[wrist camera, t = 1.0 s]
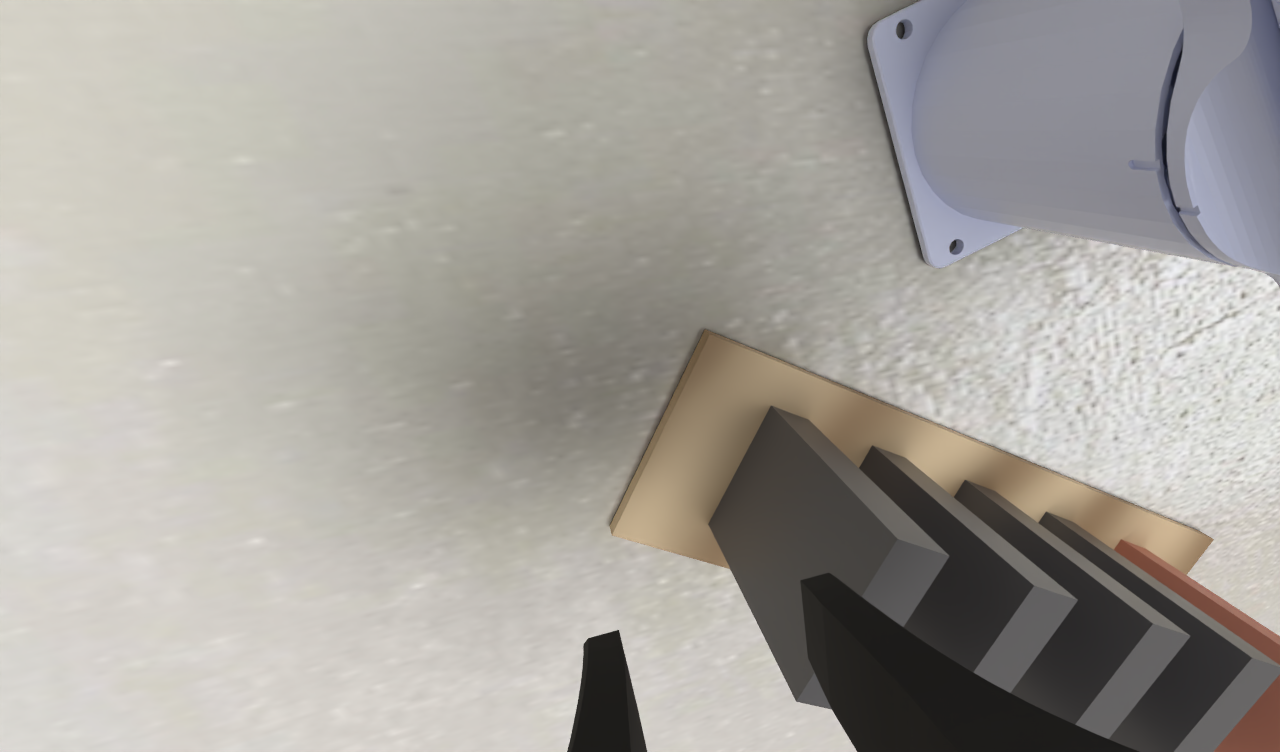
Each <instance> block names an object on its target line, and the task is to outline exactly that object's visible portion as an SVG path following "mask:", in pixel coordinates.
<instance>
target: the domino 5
mask: <svg viewBox="0 0 1280 752" xmlns="http://www.w3.org/2000/svg"><path fill="white" fill-rule="evenodd" d="M1114 550H1115V551H1116V552H1117V553H1119V554H1120V555H1122V556H1123V557H1125V558H1126V559H1128V560H1129V561H1130V562H1132V563H1133V564H1135V565H1136V566H1138V567H1139V568H1141V569H1142V570H1143V571H1145V572H1146V573H1148V574H1149V575H1151V576H1152V577H1153V578H1155V579H1156V580H1158V581H1159V582H1161V583H1162V584H1164V585H1165V586H1166V587H1168V588H1169V589H1171V590H1172V591H1174V592H1175V593H1177V594H1178V595H1179V596H1181V597H1182V598H1184V599H1185V600H1187V601H1188V602H1190V603H1191V604H1192V605H1194V606H1195V607H1197V608H1198V609H1200V610H1201V611H1202V612H1204V613H1205V614H1207V615H1208V616H1210V617H1211V618H1213V619H1214V620H1215V621H1217V622H1218V623H1220V624H1221V625H1223V626H1224V627H1226V628H1227V629H1228V630H1230V631H1231V632H1233V633H1234V634H1236V635H1237V636H1239V637H1240V638H1241V639H1243V640H1244V641H1246V642H1247V643H1249V644H1250V645H1252V646H1253V647H1254V648H1256V649H1257V650H1259V651H1260V652H1262V653H1263V654H1264V655H1266V656H1267V657H1269V658H1270V659H1272V660H1273V661H1275V662H1276V663H1277V664H1279V665H1280V636H1278V635H1277V634H1275V633H1274V632H1272V631H1271V630H1269V629H1267V628H1266V627H1264V626H1263V625H1261V624H1260V623H1258V622H1257V621H1255V620H1254V619H1252V618H1251V617H1249V616H1248V615H1246V614H1245V613H1243V612H1242V611H1240V610H1239V609H1237V608H1235V607H1234V606H1232V605H1231V604H1229V603H1228V602H1226V601H1225V600H1223V599H1222V598H1220V597H1219V596H1217V595H1216V594H1214V593H1213V592H1211V591H1210V590H1208V589H1207V588H1205V587H1203V586H1202V585H1200V584H1199V583H1197V582H1196V581H1194V580H1193V579H1191V578H1190V577H1188V576H1187V575H1185V574H1184V573H1182V572H1181V571H1179V570H1178V569H1176V568H1175V567H1173V566H1171V565H1170V564H1168V563H1167V562H1165V561H1164V560H1162V559H1161V558H1159V557H1158V556H1156V555H1155V554H1153V553H1152V552H1150V551H1149V550H1147V549H1145V548H1143V547H1140V546H1137V545H1135V544H1132V543H1130V542H1127V541H1124V540H1122V539H1121V540H1120V542H1119V543H1118V544H1117V546H1116V547H1115V549H1114ZM1214 752H1280V675H1279V676H1278V677H1277V678H1276V679H1275V681H1274V682H1273V683H1272V684H1271V685H1270V686H1269V687H1268V689H1267V690H1266V691H1265V692H1264V693H1263V694H1262V696H1261V697H1260V698H1259V699H1258V700H1257V701H1256V703H1255V704H1254V705H1253V706H1252V707H1251V708H1250V710H1249V711H1248V712H1247V713H1246V714H1245V715H1244V717H1243V718H1242V719H1241V720H1240V721H1239V722H1238V724H1237V725H1236V726H1235V727H1234V728H1233V729H1232V731H1231V732H1230V733H1229V734H1228V735H1227V736H1226V738H1225V739H1224V740H1223V741H1222V742H1221V743H1220V745H1219V746H1218V747H1217V748H1216V749H1215V750H1214Z"/></svg>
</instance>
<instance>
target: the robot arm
mask: <svg viewBox="0 0 1280 752" xmlns="http://www.w3.org/2000/svg"><path fill="white" fill-rule="evenodd" d="M899 22H902V23H903V25H904V26H905V34H904V36H903V38H902V39H900V38H898V36H897V34H896V27H897V25H898V23H899ZM867 45H868V49H869V53H870V57H871V61H872V65H873V68H874V72H875V76H876V80H877V83H878V87H879V91H880V95H881V99H882V102H883V106H884V110H885V114H886V118H887V121H888V125H889V129H890V133H891V137H892V140H893V144H894V148H895V152H896V156H897V159H898V163H899V167H900V171H901V174H902V178H903V182H904V186H905V190H906V193H907V197H908V201H909V205H910V209H911V212H912V216H913V220H914V224H915V228H916V231H917V235H918V239H919V243H920V246H921V250H922V254H923V258H924V260H925V262H926V263H927V264H928V265H929V266H932V267H935V268H943V267H946V266H948V265H950V264H952V263H954V262H956V261H958V260H960V259H962V258H964V257H966V256H968V255H970V254H972V253H974V252H976V251H978V250H980V249H982V248H984V247H986V246H988V245H990V244H992V243H994V242H996V241H998V240H1000V239H1002V238H1004V237H1006V236H1008V235H1010V234H1012V233H1014V232H1016V231H1018V230H1020V229H1022V228H1028V229H1034V230H1039V231H1045V232H1050V233H1055V234H1061V235H1066V236H1072V237H1077V238H1083V239H1088V240H1093V241H1099V242H1104V243H1110V244H1115V245H1121V246H1126V247H1131V248H1137V249H1142V250H1148V251H1153V252H1159V253H1164V254H1169V255H1175V256H1180V257H1186V258H1191V259H1197V260H1202V261H1207V262H1213V263H1218V264H1224V265H1229V266H1236V267H1243V268H1247V269H1252V270H1256V271H1260V272H1263V273H1266V274H1267V275H1269V276H1270V277H1272V278H1273V279H1274V280H1275V281H1276V282H1277V284H1278V285H1279V287H1280V0H920V1H918V2H916V3H914V4H912V5H910V6H908V7H906V8H904V9H901V10H899V11H897V12H895V13H893V14H891V15H889V16H887V17H885V18H883V19H881V20H879V21H878V22H876V23H875V24H874V25H873V26H872V27H871V29H870V30H869V33H868V37H867ZM954 240H956V247H955V249H954V250H953V251H952V252H950V251H949V246H950V244H951V242H953V241H954ZM800 583H801V593H802V603H803V613H804V624H805V634H806V644H807V654H808V659H809V661H810V663H811V666H812V668H813V670H814V672H815V675H816V677H817V679H818V681H819V683H820V686H821V688H822V690H823V692H824V694H825V696H826V698H827V700H828V702H829V704H830V707H831V708H832V710H833V712H834V713H835V715H836V717H837V719H838V720H839V722H840V724H841V725H842V727H843V729H844V730H845V732H846V734H847V735H848V737H849V739H850V740H851V742H852V744H853V745H854V747H855V749H856V750H857V752H1139V751H1137V750H1134V749H1132V748H1129V747H1126V746H1124V745H1121V744H1119V743H1117V742H1114V741H1112V740H1109V739H1107V738H1105V737H1102V736H1100V735H1097V734H1095V733H1093V732H1091V731H1088V730H1086V729H1084V728H1082V727H1080V726H1077V725H1075V724H1073V723H1071V722H1068V721H1066V720H1064V719H1062V718H1060V717H1057V716H1055V715H1053V714H1051V713H1049V712H1047V711H1045V710H1043V709H1040V708H1038V707H1036V706H1034V705H1032V704H1030V703H1028V702H1026V701H1024V700H1023V699H1021V698H1019V697H1017V696H1015V695H1013V694H1011V693H1009V692H1007V691H1006V690H1004V689H1002V688H1000V687H998V686H996V685H994V684H993V683H991V682H989V681H987V680H985V679H984V678H982V677H980V676H979V675H977V674H975V673H974V672H972V671H970V670H968V669H967V668H965V667H964V666H962V665H960V664H959V663H957V662H956V661H954V660H952V659H951V658H949V657H947V656H946V655H944V654H943V653H941V652H940V651H938V650H937V649H935V648H934V647H932V646H930V645H929V644H927V643H926V642H924V641H923V640H922V639H920V638H919V637H917V636H916V635H914V634H913V633H911V632H910V631H908V630H907V629H906V628H904V627H903V626H901V625H900V624H898V623H897V622H895V621H894V620H893V619H891V618H890V617H888V616H887V615H886V614H884V613H883V612H882V611H880V610H879V609H878V608H876V607H875V606H874V605H872V604H871V603H869V602H868V601H867V600H865V599H864V598H863V597H861V596H860V595H859V594H858V593H856V592H855V591H854V590H852V589H851V588H850V587H848V586H847V585H846V584H844V583H843V582H842V581H841V580H839V579H838V578H837V577H835V576H834V575H832V574H831V573H825V574H822V575H818V576H814V577H811V578H807V579H803V580H800ZM567 752H647V749H646V744H645V740H644V735H643V731H642V726H641V722H640V717H639V712H638V708H637V704H636V700H635V695H634V691H633V687H632V683H631V679H630V675H629V670H628V666H627V662H626V658H625V654H624V650H623V645H622V641H621V637H620V633H619V630H617V631H613V632H610V633H606V634H602V635H599V636H595V637H592V638H588V639H587V641H586V642H585V643H584V656H583V670H582V679H581V686H580V692H579V699H578V705H577V709H576V714H575V719H574V724H573V729H572V734H571V739H570V743H569V747H568V751H567Z"/></svg>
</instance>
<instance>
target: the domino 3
mask: <svg viewBox="0 0 1280 752" xmlns="http://www.w3.org/2000/svg"><path fill="white" fill-rule="evenodd" d="M954 498H955V499H956V500H957V501H959V502H960V503H961V504H962V505H964V506H965V507H966V508H967V509H968V510H970V511H971V512H972V513H973V514H974V515H976V516H977V517H978V518H979V519H980V520H982V521H983V522H984V523H985V524H987V525H988V526H989V527H990V528H991V529H993V530H994V531H995V532H996V533H997V534H999V535H1000V536H1001V537H1002V538H1003V539H1005V540H1006V541H1007V542H1008V543H1010V544H1011V545H1012V546H1013V547H1014V548H1016V549H1017V550H1018V551H1019V552H1020V553H1022V554H1023V555H1024V556H1025V557H1026V558H1028V559H1029V560H1030V561H1031V562H1032V563H1034V564H1035V565H1036V566H1037V567H1039V568H1040V569H1041V570H1042V571H1043V572H1045V573H1046V574H1047V575H1048V576H1049V577H1051V578H1052V579H1053V580H1054V581H1055V582H1057V583H1058V584H1059V585H1060V586H1062V587H1063V588H1064V589H1065V590H1066V591H1068V592H1069V593H1070V594H1071V595H1072V596H1074V597H1075V598H1076V599H1077V600H1078V601H1077V602H1076V604H1075V605H1074V606H1073V608H1072V609H1071V611H1070V612H1069V613H1068V615H1067V616H1066V617H1065V619H1064V620H1063V622H1062V623H1061V624H1060V626H1059V627H1058V628H1057V630H1056V631H1055V633H1054V634H1053V635H1052V637H1051V638H1050V639H1049V641H1048V642H1047V644H1046V645H1045V646H1044V648H1043V649H1042V650H1041V652H1040V653H1039V654H1038V656H1037V657H1036V659H1035V660H1034V661H1033V663H1032V664H1031V665H1030V667H1029V668H1028V670H1027V671H1026V672H1025V674H1024V675H1023V676H1022V678H1021V679H1020V681H1019V682H1018V683H1017V685H1016V686H1015V687H1014V689H1013V690H1012V692H1011V694H1013V695H1015V696H1017V697H1019V698H1021V699H1023V700H1024V701H1026V702H1028V703H1030V704H1032V705H1034V706H1036V707H1038V708H1040V709H1043V710H1045V711H1047V712H1049V713H1051V714H1053V715H1055V716H1057V717H1060V718H1062V719H1064V720H1066V721H1068V722H1071V723H1073V724H1075V725H1077V726H1080V727H1082V728H1084V729H1086V730H1088V731H1091V732H1093V733H1095V734H1097V735H1100V736H1102V737H1105V738H1107V739H1109V738H1110V737H1111V735H1112V734H1113V733H1114V732H1115V730H1116V729H1117V728H1118V727H1119V725H1120V724H1121V723H1122V722H1123V720H1124V719H1125V718H1126V717H1127V715H1128V714H1129V713H1130V712H1131V710H1132V709H1133V708H1134V707H1135V705H1136V704H1137V703H1138V702H1139V700H1140V699H1141V698H1142V696H1143V695H1144V694H1145V693H1146V691H1147V690H1148V689H1149V688H1150V686H1151V685H1152V684H1153V683H1154V681H1155V680H1156V679H1157V678H1158V676H1159V675H1160V674H1161V673H1162V671H1163V670H1164V669H1165V668H1166V666H1167V665H1168V664H1169V663H1170V661H1171V660H1172V659H1173V658H1174V656H1175V655H1176V654H1177V653H1178V651H1179V650H1180V649H1181V648H1182V646H1183V645H1184V644H1185V643H1186V641H1187V640H1188V639H1189V638H1190V635H1189V634H1187V633H1186V632H1184V631H1183V630H1182V629H1180V628H1179V627H1178V626H1176V625H1175V624H1174V623H1172V622H1171V621H1170V620H1168V619H1167V618H1166V617H1164V616H1163V615H1162V614H1160V613H1159V612H1158V611H1156V610H1155V609H1153V608H1152V607H1151V606H1149V605H1148V604H1147V603H1145V602H1144V601H1143V600H1141V599H1140V598H1139V597H1137V596H1136V595H1135V594H1133V593H1132V592H1131V591H1129V590H1128V589H1127V588H1125V587H1124V586H1122V585H1121V584H1120V583H1118V582H1117V581H1116V580H1114V579H1113V578H1112V577H1110V576H1109V575H1108V574H1106V573H1105V572H1104V571H1102V570H1101V569H1100V568H1098V567H1097V566H1096V565H1094V564H1093V563H1091V562H1090V561H1089V560H1087V559H1086V558H1085V557H1083V556H1082V555H1081V554H1079V553H1078V552H1077V551H1075V550H1074V549H1073V548H1071V547H1070V546H1069V545H1067V544H1066V543H1065V542H1063V541H1062V540H1060V539H1059V538H1058V537H1056V536H1055V535H1054V534H1052V533H1051V532H1050V531H1048V530H1047V529H1046V528H1044V527H1043V526H1042V525H1040V524H1039V523H1038V522H1036V521H1035V520H1034V519H1032V518H1031V517H1029V516H1028V515H1027V514H1025V513H1024V512H1023V511H1021V510H1020V509H1019V508H1017V507H1016V506H1015V505H1013V504H1012V503H1011V502H1009V501H1008V500H1007V499H1005V498H1004V497H1003V496H1001V495H1000V494H998V493H997V492H996V491H994V490H991V489H988V488H986V487H983V486H981V485H978V484H975V483H973V482H970V481H968V480H964V482H963V483H962V485H961V487H960V488H959V490H958V491H957V493H956V494H955V496H954Z"/></svg>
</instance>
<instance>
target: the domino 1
mask: <svg viewBox="0 0 1280 752" xmlns="http://www.w3.org/2000/svg"><path fill="white" fill-rule="evenodd" d="M708 525H709V527H710V529H711V531H712V533H713V535H714V537H715V539H716V541H717V543H718V545H719V547H720V549H721V551H722V553H723V555H724V557H725V559H726V561H727V563H728V565H729V567H730V569H731V571H732V573H733V575H734V577H735V579H736V581H737V583H738V585H739V587H740V589H741V591H742V593H743V595H744V597H745V599H746V601H747V603H748V605H749V607H750V609H751V611H752V613H753V615H754V617H755V619H756V621H757V623H758V625H759V627H760V629H761V631H762V633H763V635H764V637H765V639H766V641H767V643H768V645H769V647H770V649H771V651H772V653H773V655H774V658H775V660H776V662H777V664H778V666H779V668H780V670H781V672H782V674H783V676H784V678H785V680H786V682H787V684H788V686H789V688H790V690H791V692H792V694H793V696H794V698H795V700H796V702H801V703H805V704H810V705H814V706H819V707H824V708H828V709H832V708H831V707H830V704H829V702H828V700H827V698H826V696H825V694H824V692H823V690H822V688H821V686H820V683H819V681H818V679H817V677H816V675H815V672H814V670H813V668H812V666H811V663H810V661H809V659H808V654H807V644H806V634H805V624H804V613H803V603H802V593H801V583H800V580H803V579H807V578H811V577H814V576H818V575H822V574H825V573H831V574H832V575H834V576H835V577H837V578H838V579H839V580H841V581H842V582H843V583H844V584H846V585H847V586H848V587H850V588H851V589H852V590H854V591H855V592H856V593H858V594H859V595H860V596H861V597H863V598H864V599H865V600H867V601H868V602H869V603H871V604H872V605H874V606H875V607H876V608H878V609H879V610H880V611H882V612H883V613H884V614H886V615H887V616H888V617H890V618H891V619H893V620H894V621H895V622H897V623H898V624H900V625H901V626H903V627H904V625H905V624H906V622H907V621H908V619H909V618H910V616H911V615H912V613H913V611H914V610H915V608H916V607H917V605H918V604H919V602H920V601H921V599H922V598H923V596H924V595H925V593H926V592H927V590H928V588H929V587H930V585H931V584H932V582H933V581H934V579H935V578H936V576H937V575H938V573H939V572H940V570H941V569H942V567H943V565H944V564H945V562H946V561H947V559H948V558H949V555H948V554H947V553H946V552H945V551H944V550H943V549H942V548H941V547H940V546H939V545H938V544H937V543H936V542H935V541H933V540H932V539H931V538H930V537H929V536H928V535H927V534H926V533H925V532H924V531H923V530H922V529H921V528H920V527H919V526H918V525H917V524H916V523H915V522H914V521H913V520H912V519H911V518H910V517H909V516H908V515H907V514H906V513H905V512H904V511H903V510H901V509H900V508H899V507H898V506H897V505H896V504H895V503H894V502H893V501H892V500H891V499H890V498H889V497H888V496H887V495H886V494H885V493H884V492H883V491H882V490H881V489H880V488H879V487H878V486H877V485H876V484H875V483H874V482H873V481H872V480H871V479H870V478H868V477H867V476H866V475H865V474H864V473H863V472H862V471H861V470H860V469H859V468H858V467H857V466H856V465H855V464H854V463H853V462H852V461H851V460H850V459H849V458H848V457H847V456H846V455H845V454H844V453H843V452H842V451H841V450H840V449H839V448H838V447H836V446H835V445H834V444H833V443H832V442H831V441H830V440H829V439H828V438H827V437H826V436H825V435H824V434H823V433H822V432H821V431H820V430H819V429H818V428H817V427H816V426H815V425H814V424H813V423H812V422H811V421H810V420H808V419H806V418H803V417H800V416H798V415H795V414H792V413H790V412H787V411H785V410H782V409H779V408H777V407H774V406H770V408H769V410H768V412H767V414H766V416H765V418H764V420H763V421H762V423H761V425H760V427H759V429H758V431H757V433H756V435H755V437H754V438H753V440H752V442H751V444H750V446H749V448H748V450H747V452H746V454H745V455H744V457H743V459H742V461H741V463H740V465H739V467H738V469H737V471H736V472H735V474H734V476H733V478H732V480H731V482H730V484H729V486H728V488H727V489H726V491H725V493H724V495H723V497H722V499H721V501H720V503H719V505H718V506H717V508H716V510H715V512H714V514H713V516H712V518H711V520H710V522H709V523H708Z"/></svg>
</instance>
